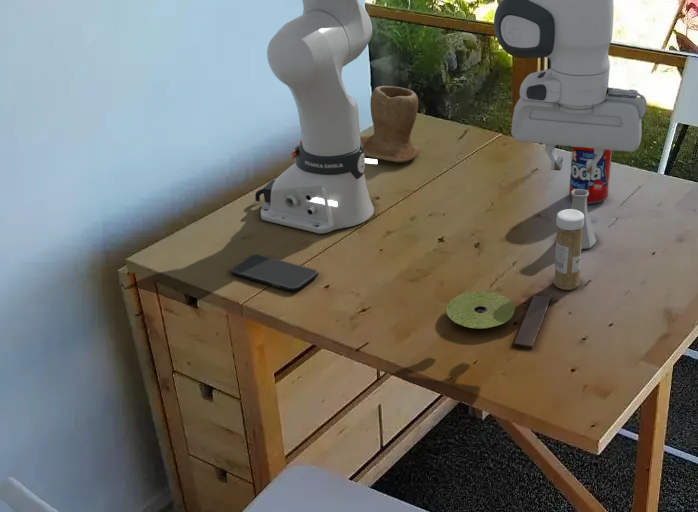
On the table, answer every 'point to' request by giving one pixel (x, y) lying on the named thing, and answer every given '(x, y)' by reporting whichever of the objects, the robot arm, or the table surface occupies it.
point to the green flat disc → (480, 309)
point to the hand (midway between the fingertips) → (573, 170)
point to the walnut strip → (532, 322)
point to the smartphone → (274, 272)
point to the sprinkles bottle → (568, 248)
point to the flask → (581, 205)
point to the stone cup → (392, 124)
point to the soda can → (591, 182)
